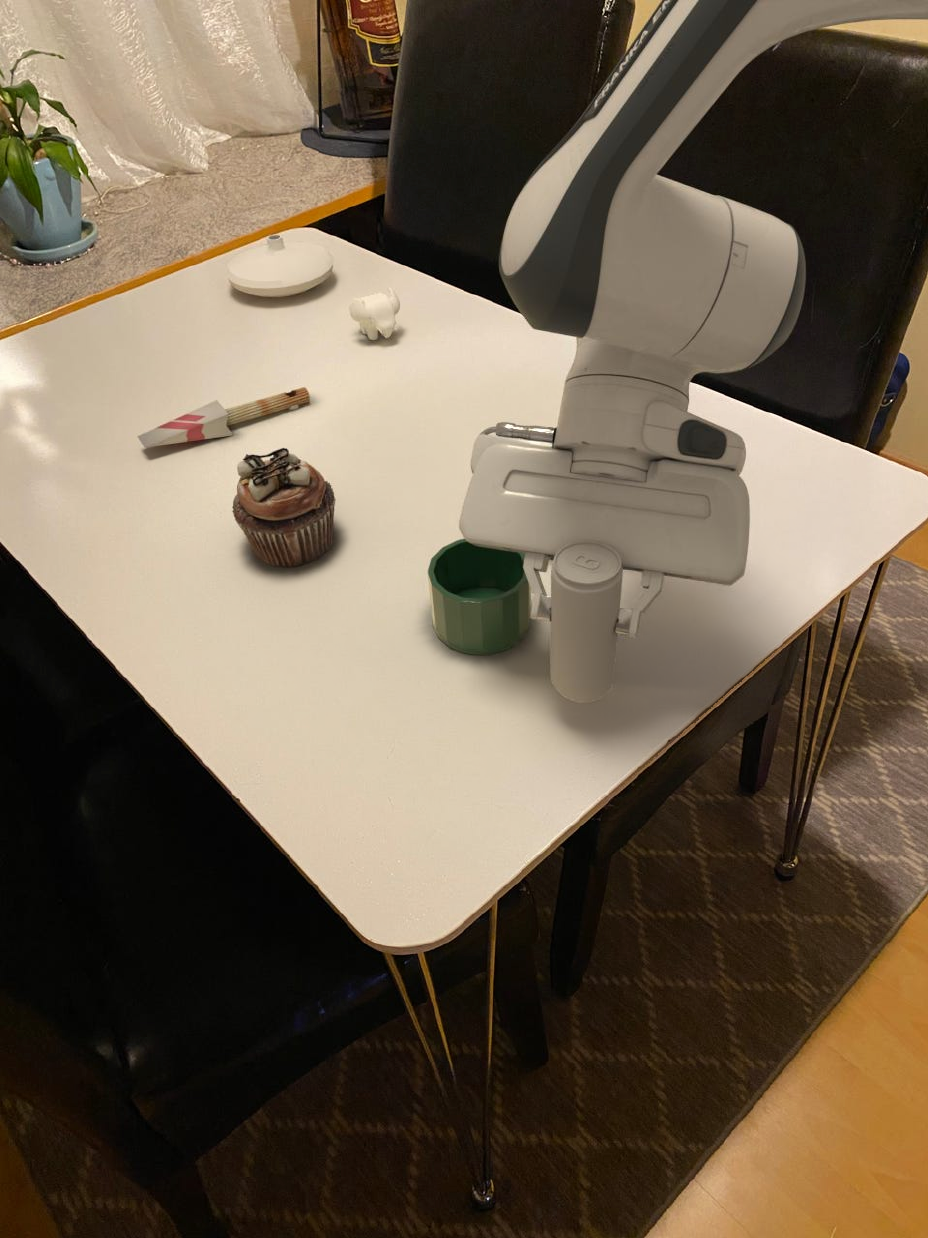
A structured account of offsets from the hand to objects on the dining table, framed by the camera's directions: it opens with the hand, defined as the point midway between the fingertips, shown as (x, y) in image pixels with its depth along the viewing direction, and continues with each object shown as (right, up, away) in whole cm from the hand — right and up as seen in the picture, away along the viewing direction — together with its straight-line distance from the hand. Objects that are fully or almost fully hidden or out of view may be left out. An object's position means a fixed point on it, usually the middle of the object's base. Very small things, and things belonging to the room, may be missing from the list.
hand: (583, 627), depth 63 cm
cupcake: (-25, +8, +24) cm, 36 cm away
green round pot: (-7, 0, +15) cm, 16 cm away
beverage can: (+1, -4, +5) cm, 7 cm away
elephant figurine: (-20, +38, +56) cm, 71 cm away
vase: (-35, +50, +69) cm, 92 cm away
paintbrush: (-36, +23, +41) cm, 59 cm away
